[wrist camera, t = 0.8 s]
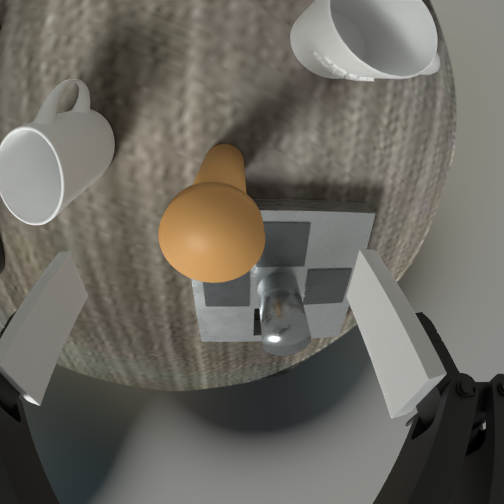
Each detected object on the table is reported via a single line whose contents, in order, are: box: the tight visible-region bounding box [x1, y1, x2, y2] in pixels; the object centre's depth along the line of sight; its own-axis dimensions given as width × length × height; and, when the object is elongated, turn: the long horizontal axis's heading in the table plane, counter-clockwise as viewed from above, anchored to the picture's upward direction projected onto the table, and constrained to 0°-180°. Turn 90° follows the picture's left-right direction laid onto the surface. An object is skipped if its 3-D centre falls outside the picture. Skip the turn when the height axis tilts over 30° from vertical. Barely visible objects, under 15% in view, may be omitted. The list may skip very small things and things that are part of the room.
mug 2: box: [290, 0, 440, 81], centre depth 15 cm, size 8×12×12 cm
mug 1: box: [0, 79, 115, 225], centre depth 19 cm, size 9×12×11 cm
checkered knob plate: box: [191, 199, 376, 356], centre depth 30 cm, size 20×20×11 cm
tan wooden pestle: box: [158, 144, 265, 283], centre depth 21 cm, size 6×6×15 cm
